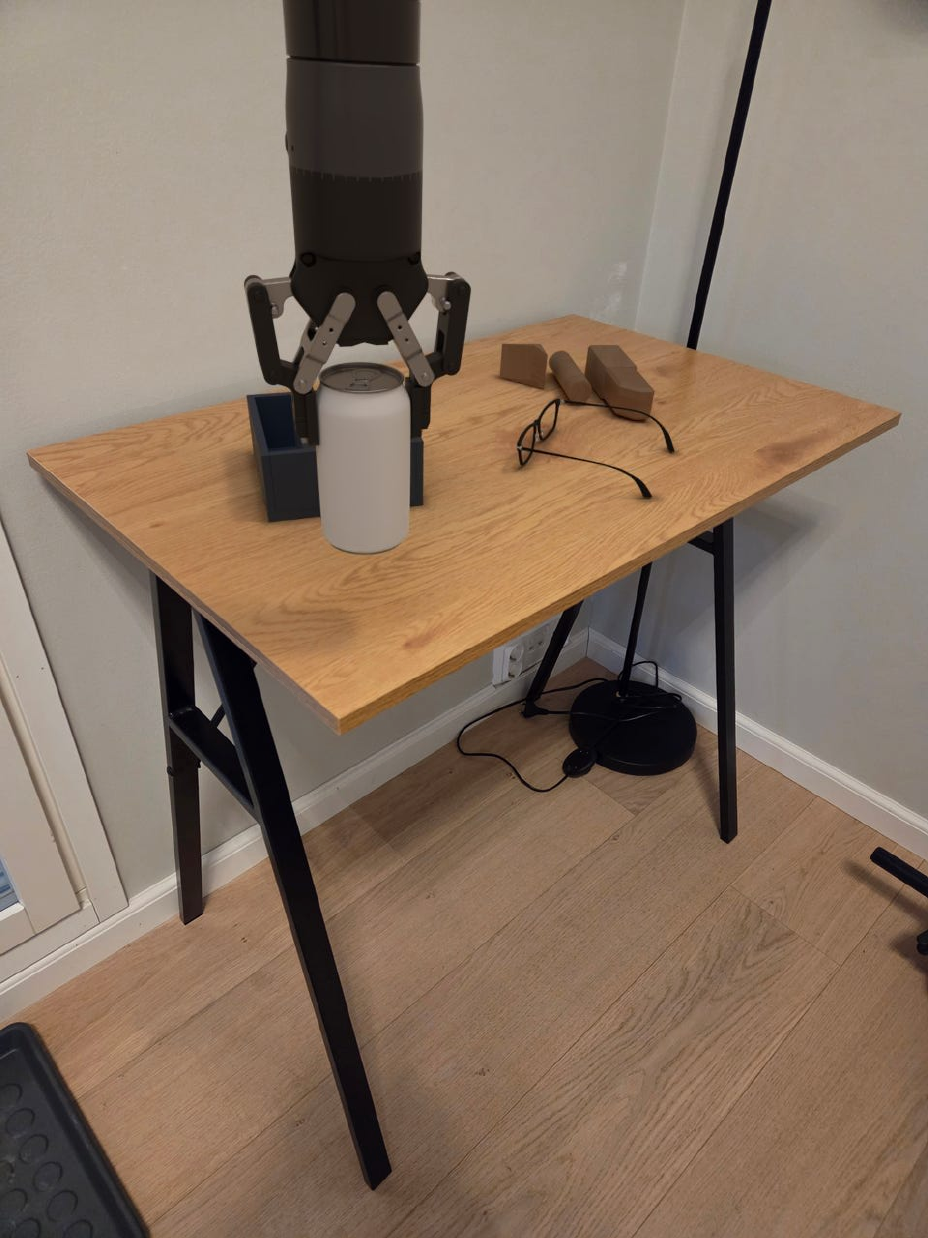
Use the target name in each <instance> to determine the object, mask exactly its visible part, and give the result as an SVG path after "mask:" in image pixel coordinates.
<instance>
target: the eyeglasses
mask: <svg viewBox="0 0 928 1238" xmlns="http://www.w3.org/2000/svg"><path fill="white" fill-rule="evenodd" d="M561 404H569V405H578V406H587V407H588V406H589V407H598V408H607V409H612V408H614V409H622V410H629V411H634V412H638V413H641V414H644V415H646V416H648V417H649V418H650V419H651V420H652V421H654V422H655V423H656V424H657V425H658V426H659V428H660V429H661V431H662V434H663V437H664V440H665V445H666V449H667V451H669V452H671V453H675V452H676V451H675V448H674V447H675V446H674V444H673V440H672V438H671V436H670V433H669V431H668V430H667V429H666V427H665V426H664V425H663V424H662V423H661V422H660V421H659V420H658V419H657V418H655V417H654V416H652V415H651V414H650V415H649V414H646V413H644V412H641V411H638V410H633V409H627V408H621V407H614V406H610V405H606V404H599V403H591V402H590V403H589V402H575V401H571V400H567V399H561V398H559V397H558V398H554V399H552V400H551V401H549V402H548V403H547V405H545V407H544V408H543V409H542V411H541V412H540V414H539V416H538V417H537V418H535V420H533V422H532V423H529V424H528V425H527V426H526V427H525V428H524V429H523V431H522V432H521V434H520V436H519V438H518V440H517V442H516V446H515V449H516V450H517V454H518V460H519V465H520V466H525V465H526V464H527V463H528V462H529V460H530V459H531V457H532V455H533V453H535V454H541V455H547V456H552V457H558V458H564V459H569V460H575V461H579V462H585V463H590V464H595V465H599V466H603V467H606V468H610V469H613V470H615V471H618V472H621V473H623V474H625V475H626V476H628V477H630V478H631V479H632V480H633V481H634V482H635V483H636V485H637V487H638V490H639V491H640V493H641V496H642V498H645V499H651V498H653V495H652V494H651V492H650V490H649V488H648V487H647V485H646V484H645V482H643V481H642V479H640V477H638V476H636V475H634V474H633V473H630V472H628V471H627V470H624V469H622V468H619V467H617V466H615V465H614V466H613V465H610V464H606V463H603V462H599V461H592V460H589V459H586V458H585V459H584V458H579V457H574V456H569V455H565V454H560V453H556V452H550V451H547V450H546V451H545V450H541V449H536V448H535V445H536V442H538V441H539V440H540V441H543V442H544V441H546V440H547V439H548V438H549V437H550V436H551V434H552V433H553V432H554V431H555V428H556V425H557V421H558V415H559V410H560V405H561ZM553 405H555V406H554V418H553V423H552V426H551V429H550V430H549V432H548V433H547V434H546V435H545V436H544V430H543V429H542V428H541V427H542V425H541V424H542V423H541V422H542V419H543V417H544V415H545V413H546V412H547V410H548V409H550V407H551V406H553ZM531 428H532V440H531V445H530V446H531V447H526V446H523V445H522V444H523V440H524V438H525V436H526V435H527V433H528V431H529V430H530V429H531ZM543 436H544V437H543ZM522 451H524V452H529V453H528V455H527V457H526V459H523V452H522ZM523 460H524V461H523Z"/></svg>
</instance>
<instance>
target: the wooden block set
mask: <svg viewBox="0 0 928 1238" xmlns="http://www.w3.org/2000/svg"><path fill="white" fill-rule="evenodd" d="M500 351H501V352H500V365H499V378H500V379H504V380H506V381H507V380H508V381H512V382H515V383H518V384H523V385H526V386H530V387H533V388H537V389H540V390H545V385H546V377H547V376H546V375H547V369H548V368H547V367H549V369H550V371H551V372H552V374H553V375H554V377H555V378H556V380H557V381H558V383H559V385H560V387H561V388H562V389H563V391H564V393H565V395H566V396H567V398H568V400H569V401H575V402H583V403H585V402H587V401H588V400H589V398H590V396H591V395H592V394H593V393H592V392H593V390H594V392H595V393H596V394H597V396H598V397H599V399H602V400H605V401H606V403H607V404H608V406H614V407H621V408H627V409H633V410H638V411H641V412H644V413H646V414H649V415H650V416H651V413H652V407H653V402H654V397H655V392H656V391H655V390H654V388H653V387H652V386H651V385H650V384H649V382H647V380H646V379H645V378H644V377H643V376H642V374H641V373H640V372H639V371H638V366H637V365H636V363H635V362H634V361H633V360H632V359H631V358H630V357H629V355H628V354H627V353H626V352H625V351H624V350H623V348H622V347H621V346H620V345H617V344H590V345H588V347H587V353H586V360H585V368H584V373H583V371H582V370H581V368H580V367H579V366H578V365H577V363H576V362H575V360H574V359H573V357H572V356H571V355H570V353H569V352H567V351H565V350H557V351H555V352H554V353H553V354H551V356H550V357H549V355H548V353H547V351H546V350H545V348H544V347H543V345H542V343H501V349H500ZM548 358H549V360H548ZM611 410H612V411H613V412H614V414H615V415H618V416H621V417H624V418H628V419H630V420H633V421H639V420H641V421H642V420H645V421H646V420H648V419H649V418H650V417H648V416H646V415H644V414H641V413H638V412H634V411H629V410H622V409H614V408H611Z"/></svg>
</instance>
